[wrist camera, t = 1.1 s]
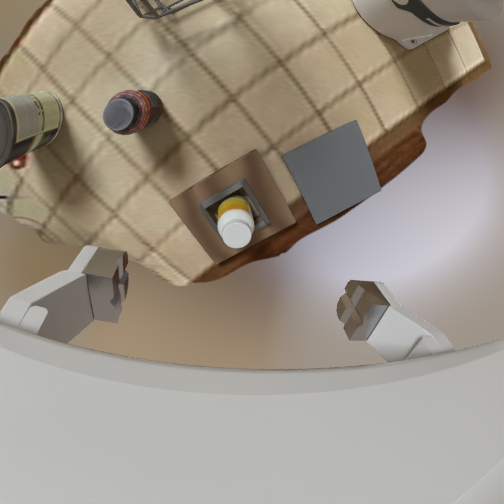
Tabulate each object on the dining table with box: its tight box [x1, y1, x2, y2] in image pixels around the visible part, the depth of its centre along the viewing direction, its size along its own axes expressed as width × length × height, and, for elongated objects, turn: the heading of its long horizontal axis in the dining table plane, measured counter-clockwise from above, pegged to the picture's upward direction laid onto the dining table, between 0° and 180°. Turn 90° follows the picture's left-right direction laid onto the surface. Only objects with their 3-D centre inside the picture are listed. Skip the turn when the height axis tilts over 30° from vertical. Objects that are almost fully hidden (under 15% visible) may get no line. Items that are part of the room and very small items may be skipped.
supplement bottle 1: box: [103, 90, 162, 135], centre depth 30 cm, size 6×6×11 cm
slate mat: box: [282, 120, 381, 225], centre depth 43 cm, size 14×14×1 cm
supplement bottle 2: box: [218, 195, 254, 248], centre depth 41 cm, size 5×5×10 cm
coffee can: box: [0, 91, 63, 168], centre depth 26 cm, size 10×10×14 cm
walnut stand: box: [169, 149, 296, 264], centre depth 44 cm, size 16×14×2 cm
